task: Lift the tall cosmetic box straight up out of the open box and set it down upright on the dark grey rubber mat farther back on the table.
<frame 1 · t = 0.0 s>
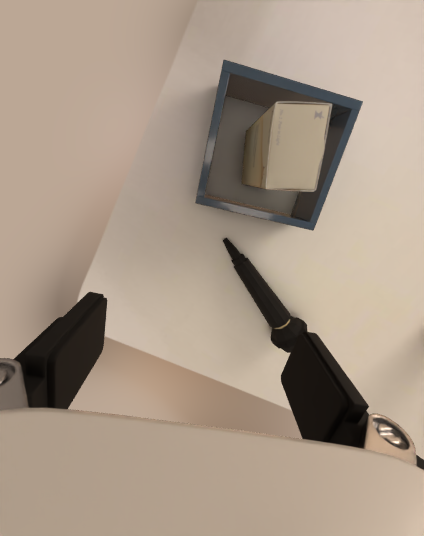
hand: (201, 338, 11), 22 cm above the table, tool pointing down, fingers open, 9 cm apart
cosmetic box: (260, 160, 29), resting in open box
microphone: (265, 288, 35), on the table
open box: (260, 160, 29), on the table
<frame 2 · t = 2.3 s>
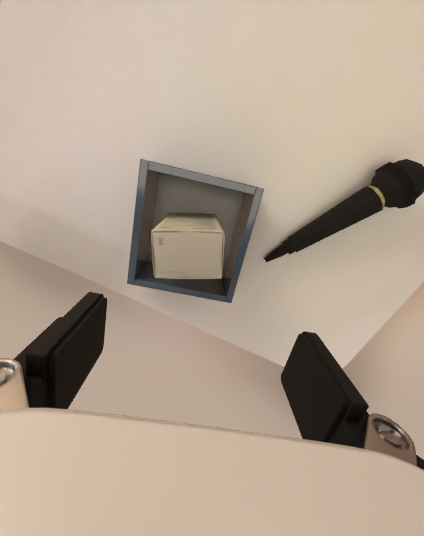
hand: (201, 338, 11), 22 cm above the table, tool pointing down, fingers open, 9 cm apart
cosmetic box: (193, 228, 31), resting in open box
microphone: (327, 211, 31), on the table
open box: (193, 228, 31), on the table
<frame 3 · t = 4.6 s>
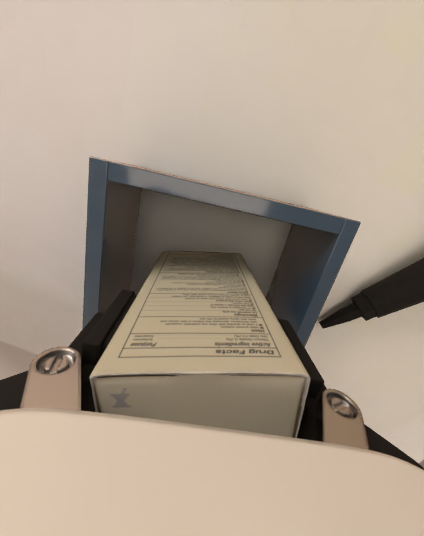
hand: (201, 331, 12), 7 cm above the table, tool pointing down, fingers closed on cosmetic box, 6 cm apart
cosmetic box: (203, 275, 18), resting in open box, touching gripper
open box: (203, 276, 18), on the table
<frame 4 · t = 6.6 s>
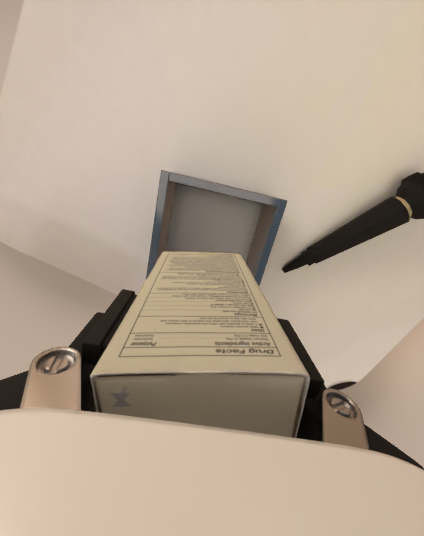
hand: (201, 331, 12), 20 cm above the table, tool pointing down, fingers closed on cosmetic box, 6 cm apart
cosmetic box: (203, 275, 18), point 13 cm above the table, touching gripper
microphone: (349, 222, 30), on the table
open box: (210, 238, 30), on the table
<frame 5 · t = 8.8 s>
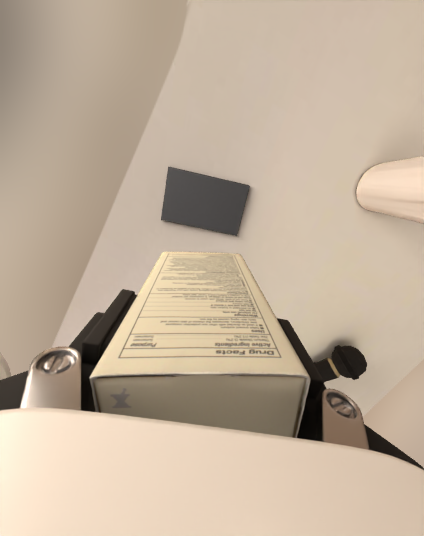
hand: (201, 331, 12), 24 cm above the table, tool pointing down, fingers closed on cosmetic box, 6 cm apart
cosmetic box: (203, 275, 18), point 16 cm above the table, touching gripper
microphone: (303, 365, 43), on the table
cup: (376, 187, 32), on the table
mat: (204, 202, 32), on the table
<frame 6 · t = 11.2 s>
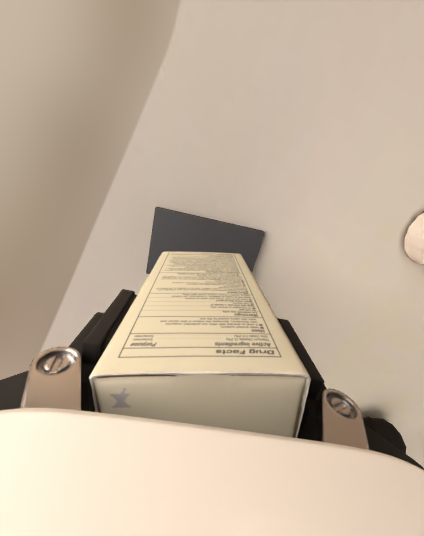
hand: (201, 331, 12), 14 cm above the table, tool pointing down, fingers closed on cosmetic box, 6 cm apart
cosmetic box: (203, 275, 18), point 6 cm above the table, touching gripper
microphone: (322, 436, 36), on the table
mat: (203, 251, 24), on the table
when the fingers open (8 cm above the table, at t = 13.2 s): cosmetic box stays where it is, resting on mat.
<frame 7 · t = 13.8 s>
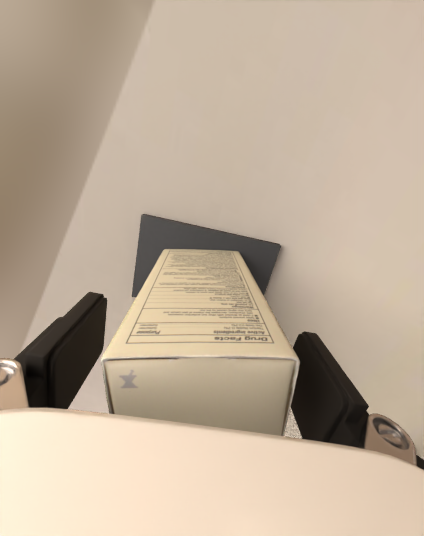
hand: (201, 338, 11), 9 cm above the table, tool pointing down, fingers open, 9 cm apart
cosmetic box: (202, 272, 19), resting on mat
mat: (204, 269, 20), on the table
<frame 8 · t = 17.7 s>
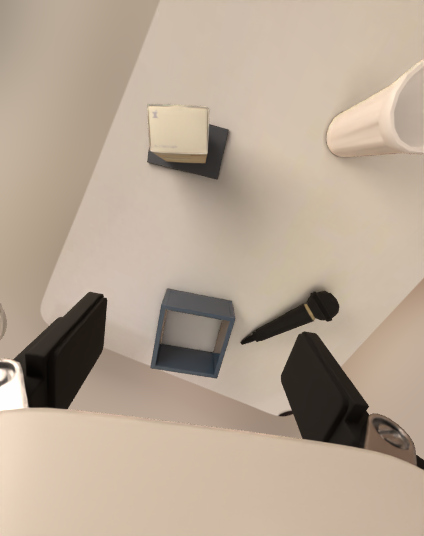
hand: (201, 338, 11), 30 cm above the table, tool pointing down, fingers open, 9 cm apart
cosmetic box: (186, 146, 35), resting on mat
microphone: (282, 313, 46), on the table
cup: (344, 134, 35), on the table
open box: (192, 324, 46), on the table
mat: (187, 146, 35), on the table
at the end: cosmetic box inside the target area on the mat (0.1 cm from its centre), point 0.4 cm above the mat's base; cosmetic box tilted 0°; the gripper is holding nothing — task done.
